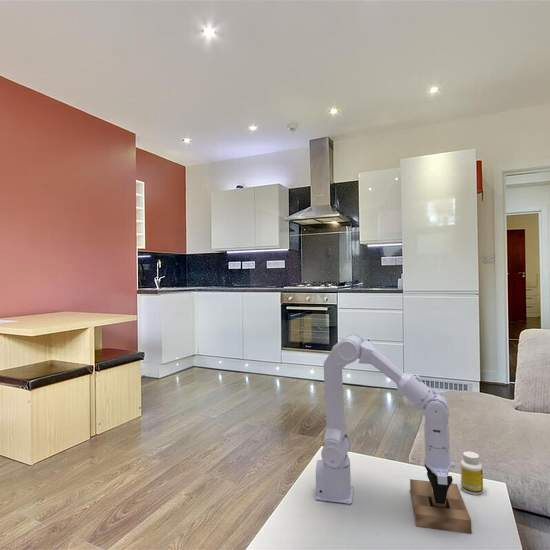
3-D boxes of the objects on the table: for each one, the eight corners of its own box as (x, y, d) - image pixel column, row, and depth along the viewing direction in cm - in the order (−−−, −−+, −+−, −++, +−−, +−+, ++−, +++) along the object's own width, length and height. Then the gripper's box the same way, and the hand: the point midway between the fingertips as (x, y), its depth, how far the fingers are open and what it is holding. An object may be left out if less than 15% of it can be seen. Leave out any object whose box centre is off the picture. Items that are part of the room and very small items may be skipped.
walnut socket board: (416, 526, 91) (415, 513, 91) (410, 490, 106) (410, 479, 106) (471, 533, 88) (471, 520, 88) (457, 495, 103) (456, 483, 103)
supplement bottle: (486, 496, 102) (484, 459, 102) (464, 494, 103) (463, 458, 103) (479, 485, 107) (478, 450, 107) (458, 484, 108) (457, 449, 109)
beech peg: (433, 513, 94) (432, 476, 94) (431, 505, 97) (430, 470, 97) (447, 515, 93) (446, 478, 93) (445, 507, 96) (443, 471, 96)
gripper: (460, 458, 87) (462, 518, 87) (448, 433, 101) (450, 485, 101) (427, 456, 89) (429, 514, 89) (420, 431, 103) (422, 482, 103)
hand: (438, 498), depth 95 cm, fingers closed on beech peg, 3 cm apart
